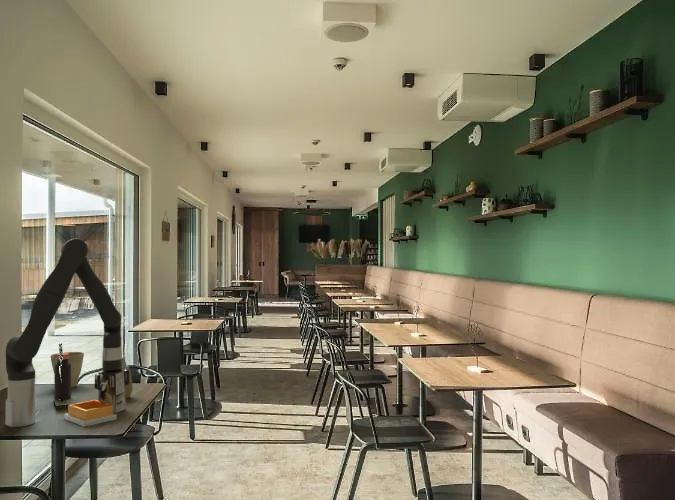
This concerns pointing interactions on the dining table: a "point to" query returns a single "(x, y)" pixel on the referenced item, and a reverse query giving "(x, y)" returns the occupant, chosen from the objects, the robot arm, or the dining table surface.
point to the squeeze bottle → (129, 386)
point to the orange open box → (90, 413)
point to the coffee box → (114, 390)
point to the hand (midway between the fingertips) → (112, 397)
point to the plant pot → (72, 365)
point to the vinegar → (62, 388)
